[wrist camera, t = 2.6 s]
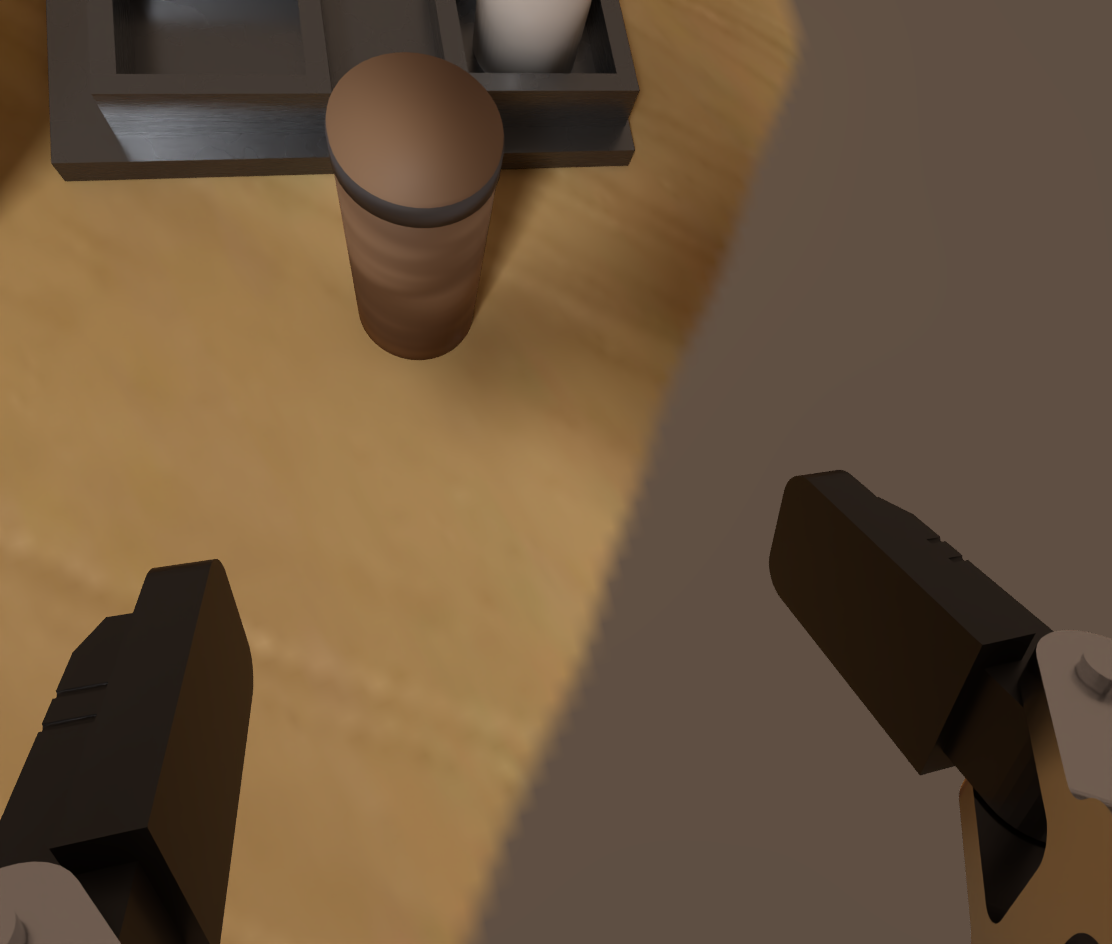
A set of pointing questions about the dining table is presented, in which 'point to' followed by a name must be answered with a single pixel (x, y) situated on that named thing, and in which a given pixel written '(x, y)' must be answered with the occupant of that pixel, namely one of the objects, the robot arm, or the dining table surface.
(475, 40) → the salt shaker
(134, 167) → the condiment caddy
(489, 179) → the brown wooden cylinder
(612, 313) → the dining table surface
